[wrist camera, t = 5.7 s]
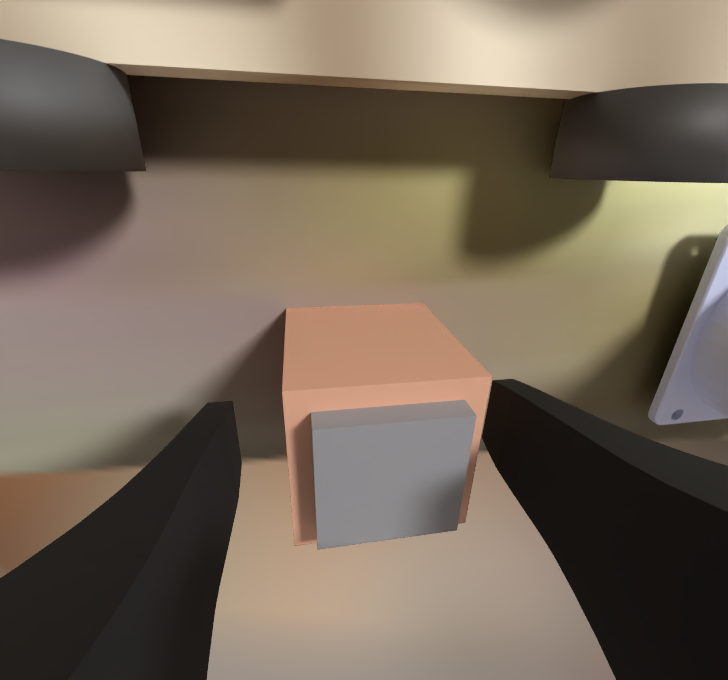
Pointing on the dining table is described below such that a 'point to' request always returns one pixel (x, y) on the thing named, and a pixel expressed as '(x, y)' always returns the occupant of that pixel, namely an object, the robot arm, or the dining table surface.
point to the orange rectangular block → (378, 423)
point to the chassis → (379, 70)
